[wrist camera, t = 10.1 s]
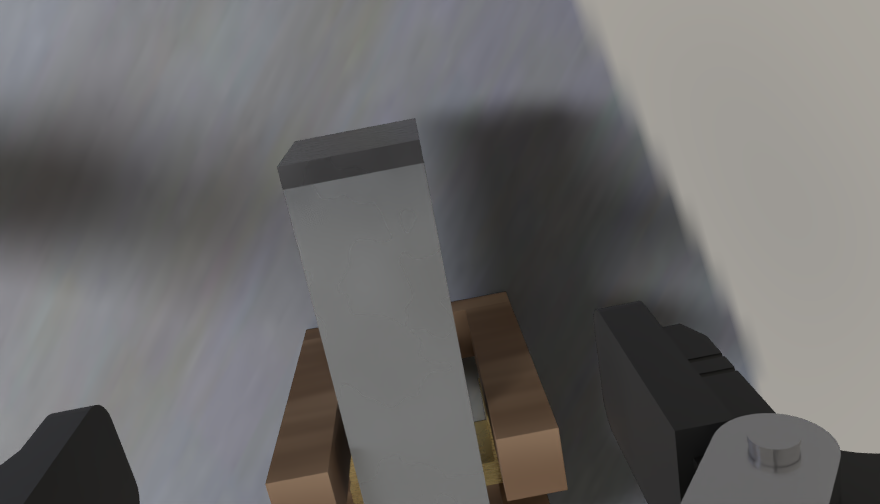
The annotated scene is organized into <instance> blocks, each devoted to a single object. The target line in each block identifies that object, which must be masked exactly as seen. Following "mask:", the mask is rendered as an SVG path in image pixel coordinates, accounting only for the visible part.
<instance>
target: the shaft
mask: <svg viewBox="0 0 880 504" xmlns="http://www.w3.org/2000/svg"><path fill="white" fill-rule="evenodd" d="M277 169H278V172H279V176H280V180H281V184H282V188H283V192H284V196H285V200H286V203H287V207H288V211H289V215H290V219H291V223H292V227H293V231H294V234H295V238H296V242H297V246H298V250H299V254H300V258H301V262H302V265H303V269H304V273H305V277H306V281H307V285H308V289H309V293H310V297H311V300H312V304H313V308H314V312H315V316H316V320H317V324H318V328H319V331H320V335H321V339H322V343H323V347H324V351H325V355H326V359H327V362H328V366H329V370H330V374H331V378H332V382H333V386H334V390H335V393H336V397H337V401H338V405H339V409H340V413H341V417H342V421H343V424H344V428H345V432H346V436H347V440H348V444H349V448H350V452H351V455H352V459H353V463H354V467H355V471H356V475H357V479H358V483H359V487H360V490H361V494H362V498H363V502H364V504H490V503H489V498H488V493H487V487H486V482H485V477H484V472H483V467H482V461H481V456H480V451H479V446H478V441H477V436H476V430H475V425H474V420H473V415H472V410H471V404H470V399H469V394H468V389H467V384H466V379H465V373H464V368H463V363H462V358H461V353H460V347H459V342H458V337H457V332H456V327H455V322H454V316H453V311H452V306H451V301H450V296H449V290H448V285H447V280H446V275H445V270H444V264H443V259H442V254H441V249H440V244H439V239H438V233H437V228H436V223H435V218H434V213H433V207H432V202H431V197H430V192H429V187H428V182H427V176H426V171H425V166H424V161H423V156H422V150H421V145H420V140H419V135H418V130H417V125H416V119H415V118H414V119H409V120H403V121H398V122H393V123H388V124H383V125H378V126H372V127H367V128H362V129H357V130H352V131H346V132H341V133H336V134H331V135H326V136H321V137H315V138H310V139H305V140H300V141H295V142H294V144H293V145H292V146H291V148H290V149H289V151H288V152H287V154H286V155H285V156H284V158H283V159H282V161H281V162H280V163H279V165H278V166H277Z"/></svg>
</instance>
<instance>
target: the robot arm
mask: <svg viewBox="0 0 880 504" xmlns="http://www.w3.org/2000/svg"><path fill="white" fill-rule="evenodd" d="M594 329H595V337H596V345H597V353H598V361H599V369H600V377H601V386H602V393H603V400H604V405H605V409H606V413H607V417H608V421H609V424H610V427H611V429H612V432H613V434H614V436H615V438H616V440H617V442H618V444H619V446H620V448H621V450H622V452H623V454H624V456H625V458H626V460H627V462H628V464H629V466H630V468H631V470H632V472H633V474H634V476H635V478H636V480H637V482H638V484H639V486H640V488H641V490H642V492H643V495H644V497H645V499H646V501H647V503H648V504H880V454H872V453H869V454H868V453H855V452H847V451H841V450H840V447H839V445H838V443H837V441H836V440H835V439H834V438H833V436H832V435H831V434H830V433H829V432H827V431H826V430H825V429H823V428H822V427H820V426H818V425H816V424H815V423H812V422H810V421H807V420H805V419H802V418H798V417H794V416H790V415H784V414H776V413H775V412H774V411H773V410H772V409H771V407H770V406H769V405H768V404H767V403H766V402H765V401H764V400H763V398H762V397H761V396H760V395H759V394H758V393H757V392H756V391H755V389H754V388H753V387H752V386H751V385H750V384H749V383H748V382H747V381H746V379H745V378H744V377H743V376H742V375H741V374H740V373H739V372H738V371H735V368H734V366H733V365H732V364H731V363H730V362H729V361H728V359H727V358H726V357H725V356H722V353H721V352H720V350H719V349H718V348H717V347H716V346H715V345H714V344H713V343H712V342H711V340H710V339H709V338H708V337H707V336H706V335H703V334H701V333H699V332H697V331H695V330H693V329H690V328H688V327H686V326H684V325H682V324H677V325H672V326H667V327H662V326H661V325H660V324H659V323H658V321H657V320H656V319H655V318H654V316H653V315H652V314H651V313H650V311H649V310H648V309H647V308H646V306H645V305H644V304H643V303H642V302H641V301H637V302H632V303H627V304H621V305H616V306H611V307H606V308H601V309H596V310H595V311H594ZM0 504H140V501H139V492H138V487H137V484H136V481H135V478H134V476H133V473H132V471H131V468H130V465H129V463H128V460H127V458H126V455H125V453H124V450H123V447H122V445H121V442H120V440H119V437H118V435H117V432H116V429H115V427H114V424H113V422H112V419H111V417H110V415H109V413H108V412H107V410H106V409H105V408H104V407H102V406H100V405H94V406H89V407H84V408H78V409H73V410H68V411H63V412H58V413H53V414H50V415H48V416H47V417H46V418H45V420H44V421H43V422H42V423H41V425H40V426H39V427H38V428H37V430H36V431H35V432H34V433H33V435H32V436H31V437H30V439H29V440H28V441H27V442H26V444H25V445H24V446H23V447H22V449H21V450H20V451H18V452H17V453H16V454H15V455H13V456H12V457H11V458H9V459H8V460H7V461H5V462H4V463H3V464H2V465H0Z"/></svg>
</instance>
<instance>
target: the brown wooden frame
mask: <svg viewBox="0 0 880 504" xmlns="http://www.w3.org/2000/svg"><path fill="white" fill-rule="evenodd" d="M451 306H452V311H453V316H454V322H455V327H456V332H457V337H458V342H459V347H460V353H461V358H467V357H472V356H474V357H475V361H476V366H477V370H478V374H479V379H480V383H481V387H482V392H483V396H484V401H485V405H486V409H487V414H488V418H489V423H490V427H491V431H492V436H493V440H494V445H495V449H496V453H497V458H498V462H499V466H500V471H501V475H502V480H503V483H498V484H493V485H488V486H486V487H487V493H488V498H489V503H490V504H550V502H549V499H548V496H547V494H548V493H553V492H558V491H563V490H568V487H567V481H566V474H565V468H564V461H563V454H562V448H561V441H560V435H559V428H558V425H557V423H556V420H555V418H554V415H553V412H552V410H551V407H550V405H549V402H548V399H547V397H546V394H545V392H544V389H543V387H542V384H541V381H540V379H539V376H538V374H537V371H536V368H535V366H534V363H533V361H532V358H531V356H530V353H529V350H528V348H527V345H526V343H525V340H524V337H523V335H522V332H521V330H520V327H519V324H518V322H517V319H516V317H515V314H514V312H513V309H512V306H511V304H510V301H509V299H508V296H507V293H506V292H501V293H496V294H491V295H485V296H480V297H475V298H470V299H465V300H459V301H454V302H451ZM350 464H351V452H350V448H349V444H348V440H347V436H346V432H345V428H344V424H343V421H342V417H341V413H340V409H339V405H338V401H337V397H336V393H335V390H334V386H333V382H332V378H331V374H330V370H329V366H328V362H327V359H326V355H325V351H324V347H323V343H322V339H321V335H320V331H319V328H314V329H309V330H306V333H305V337H304V341H303V344H302V348H301V352H300V356H299V359H298V363H297V367H296V371H295V374H294V378H293V382H292V386H291V389H290V393H289V397H288V401H287V405H286V408H285V412H284V416H283V420H282V423H281V427H280V431H279V435H278V438H277V442H276V446H275V450H274V453H273V457H272V461H271V465H270V468H269V472H268V476H267V480H266V488H267V491H268V494H269V498H270V501H271V504H354V502H353V498H352V495H351V491H350V484H351V480H350V477H349V474H350Z"/></svg>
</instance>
